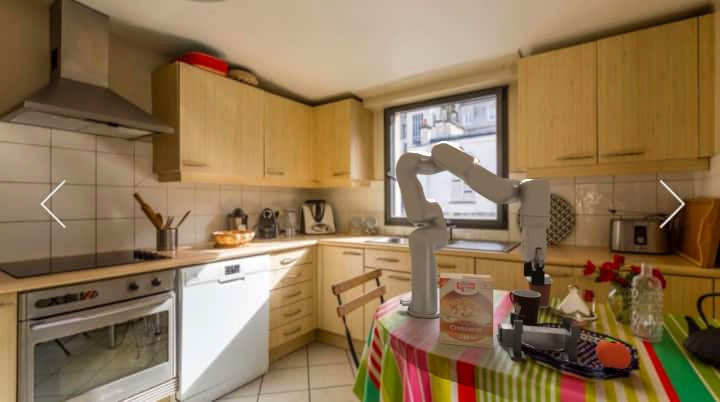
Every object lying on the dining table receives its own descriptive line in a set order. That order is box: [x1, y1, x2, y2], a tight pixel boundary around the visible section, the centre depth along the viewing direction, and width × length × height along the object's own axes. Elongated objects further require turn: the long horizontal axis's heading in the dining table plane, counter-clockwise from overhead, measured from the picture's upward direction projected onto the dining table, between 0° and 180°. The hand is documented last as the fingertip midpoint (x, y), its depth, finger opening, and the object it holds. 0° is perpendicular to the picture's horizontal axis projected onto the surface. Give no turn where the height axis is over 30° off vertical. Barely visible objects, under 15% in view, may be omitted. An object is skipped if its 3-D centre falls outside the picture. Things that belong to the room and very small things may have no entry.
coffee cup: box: [526, 273, 554, 309], centre depth 128 cm, size 9×9×12 cm
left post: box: [506, 312, 527, 362], centre depth 88 cm, size 4×7×10 cm, turn 164°
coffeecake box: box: [438, 272, 494, 350], centre depth 97 cm, size 15×7×20 cm, turn 75°
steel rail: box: [497, 322, 565, 349], centre depth 95 cm, size 19×4×4 cm, turn 74°
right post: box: [559, 315, 584, 365], centre depth 85 cm, size 4×7×10 cm, turn 164°
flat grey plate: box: [496, 333, 580, 354], centre depth 95 cm, size 20×7×1 cm, turn 74°
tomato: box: [595, 337, 632, 370], centre depth 82 cm, size 8×7×7 cm
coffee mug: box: [509, 289, 541, 326], centre depth 112 cm, size 12×9×10 cm
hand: (533, 280), depth 95 cm, fingers open, 9 cm apart
